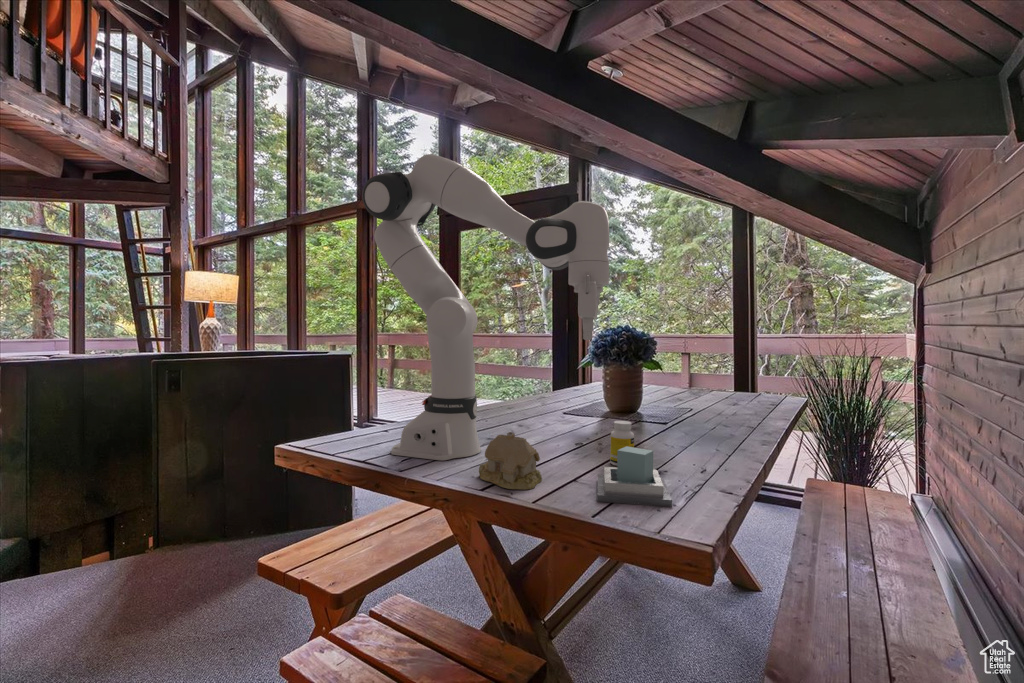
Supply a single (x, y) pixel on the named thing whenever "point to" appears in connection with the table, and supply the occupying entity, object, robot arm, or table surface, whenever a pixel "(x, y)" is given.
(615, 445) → the supplement bottle
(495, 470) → the ceramic model
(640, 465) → the block
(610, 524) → the table surface
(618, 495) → the collar socket
